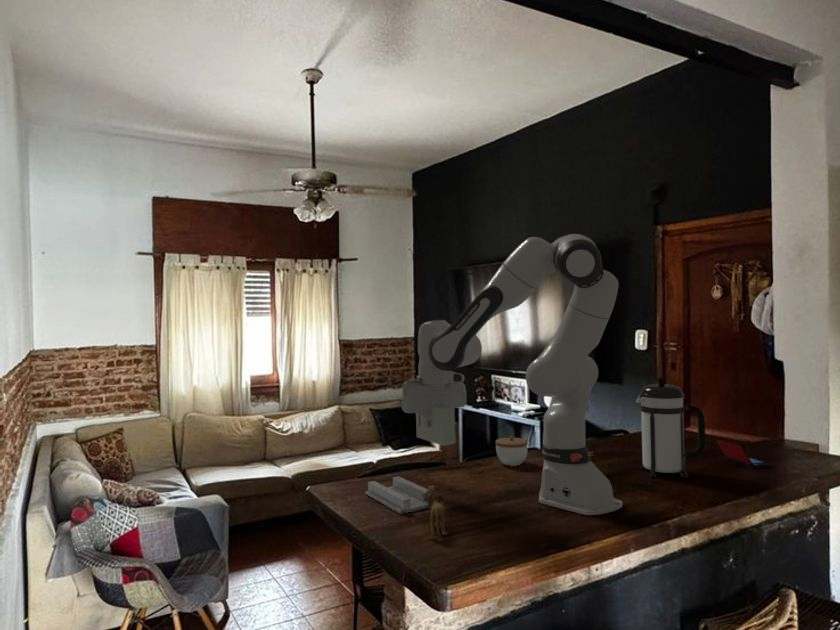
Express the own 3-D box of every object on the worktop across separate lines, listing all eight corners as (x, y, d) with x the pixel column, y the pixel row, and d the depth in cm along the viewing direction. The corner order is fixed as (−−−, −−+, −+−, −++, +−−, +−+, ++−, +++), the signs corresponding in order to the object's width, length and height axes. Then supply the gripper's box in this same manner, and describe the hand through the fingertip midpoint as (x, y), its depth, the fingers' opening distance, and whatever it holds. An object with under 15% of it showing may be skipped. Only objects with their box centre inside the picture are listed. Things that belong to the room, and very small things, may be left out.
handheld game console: (773, 468, 184) (772, 444, 184) (742, 470, 183) (741, 446, 183) (745, 458, 197) (744, 436, 197) (716, 460, 195) (715, 438, 195)
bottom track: (439, 505, 154) (439, 492, 154) (400, 514, 148) (400, 500, 148) (401, 487, 171) (401, 475, 171) (365, 495, 165) (364, 482, 165)
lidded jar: (509, 469, 188) (509, 440, 189) (489, 462, 198) (489, 435, 198) (534, 464, 194) (534, 436, 194) (514, 458, 203) (513, 431, 203)
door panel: (455, 443, 161) (454, 407, 161) (443, 445, 158) (442, 409, 158) (428, 435, 172) (427, 401, 172) (416, 437, 170) (415, 403, 170)
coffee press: (676, 483, 169) (673, 380, 169) (628, 472, 182) (625, 376, 182) (707, 473, 179) (704, 376, 180) (659, 463, 192) (657, 372, 192)
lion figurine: (421, 520, 143) (420, 484, 143) (442, 519, 144) (441, 482, 144) (431, 543, 129) (431, 502, 129) (455, 541, 129) (454, 501, 129)
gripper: (408, 380, 157) (409, 431, 157) (469, 375, 168) (470, 423, 168) (396, 378, 163) (397, 428, 163) (456, 373, 173) (457, 420, 173)
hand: (435, 425), depth 165 cm, fingers closed on door panel, 4 cm apart
